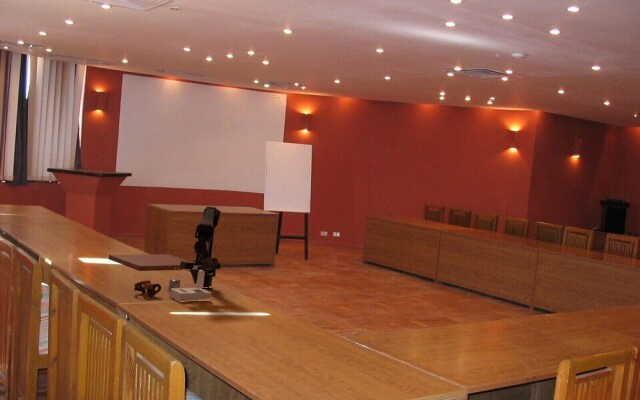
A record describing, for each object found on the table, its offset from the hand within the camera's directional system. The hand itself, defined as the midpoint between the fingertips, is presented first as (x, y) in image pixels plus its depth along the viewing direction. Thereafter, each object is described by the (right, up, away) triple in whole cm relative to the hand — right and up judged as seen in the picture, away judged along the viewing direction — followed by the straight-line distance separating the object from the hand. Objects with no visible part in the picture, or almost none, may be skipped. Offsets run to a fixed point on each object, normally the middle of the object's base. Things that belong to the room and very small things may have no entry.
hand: (198, 283), depth 324 cm
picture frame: (-39, +1, +78) cm, 88 cm away
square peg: (0, -2, 0) cm, 2 cm away
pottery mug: (-22, -5, -7) cm, 24 cm away
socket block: (-4, -7, -2) cm, 8 cm away
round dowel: (-13, -5, +8) cm, 16 cm away
